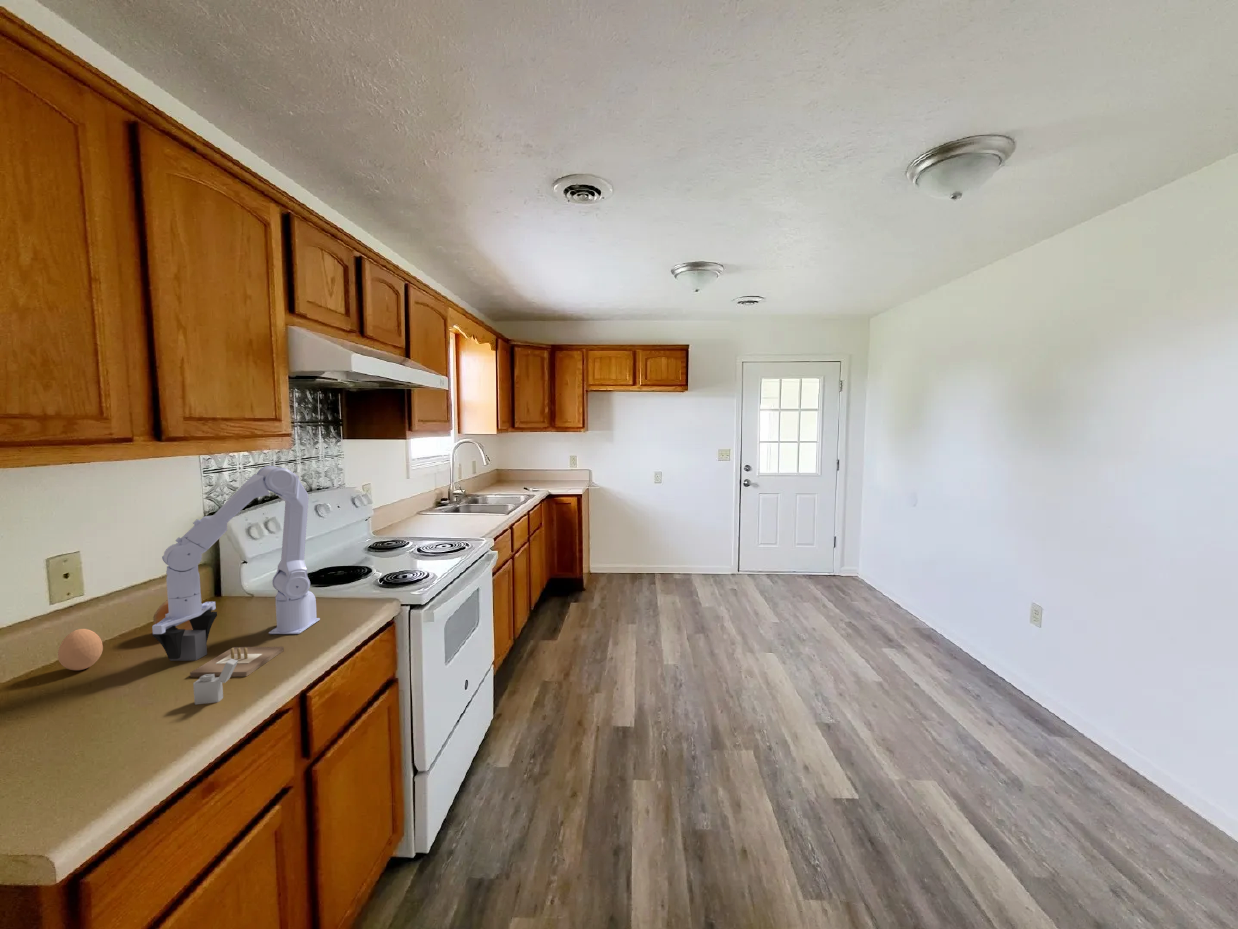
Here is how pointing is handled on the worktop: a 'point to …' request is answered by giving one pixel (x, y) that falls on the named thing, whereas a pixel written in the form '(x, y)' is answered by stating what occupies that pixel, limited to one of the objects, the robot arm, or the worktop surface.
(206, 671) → the board
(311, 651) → the worktop surface
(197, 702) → the lighter
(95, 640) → the egg
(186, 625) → the onion
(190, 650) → the block
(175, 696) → the worktop surface
